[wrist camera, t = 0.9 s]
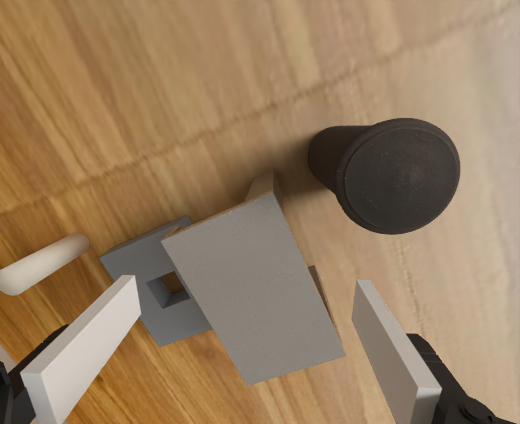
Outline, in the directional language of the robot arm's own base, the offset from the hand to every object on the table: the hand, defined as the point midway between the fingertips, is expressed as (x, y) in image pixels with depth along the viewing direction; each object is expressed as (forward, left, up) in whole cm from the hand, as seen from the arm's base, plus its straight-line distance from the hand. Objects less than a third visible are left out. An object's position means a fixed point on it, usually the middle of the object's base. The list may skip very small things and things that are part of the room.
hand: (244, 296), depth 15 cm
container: (-1, +12, -25) cm, 28 cm away
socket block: (+7, -19, -25) cm, 32 cm away
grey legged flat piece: (+7, -3, -25) cm, 26 cm away
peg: (-5, -31, -25) cm, 40 cm away
